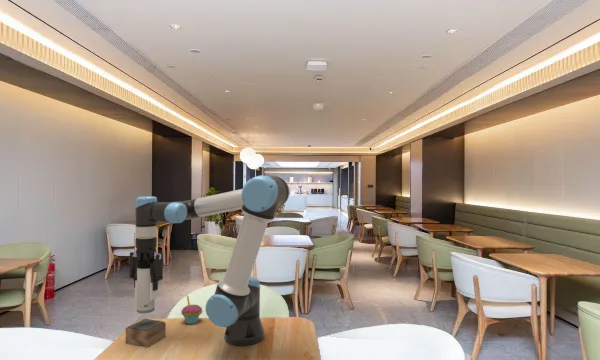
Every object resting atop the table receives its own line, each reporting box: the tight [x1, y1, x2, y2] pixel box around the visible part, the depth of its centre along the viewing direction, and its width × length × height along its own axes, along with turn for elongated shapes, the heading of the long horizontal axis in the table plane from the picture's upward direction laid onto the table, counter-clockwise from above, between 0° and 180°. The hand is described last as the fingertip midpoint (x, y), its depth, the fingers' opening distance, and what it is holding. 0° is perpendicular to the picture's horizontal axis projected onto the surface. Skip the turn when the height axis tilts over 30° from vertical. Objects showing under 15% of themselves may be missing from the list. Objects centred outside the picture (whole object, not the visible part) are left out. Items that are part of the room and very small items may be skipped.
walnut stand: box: [125, 318, 167, 348], centre depth 147 cm, size 10×10×6 cm
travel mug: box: [136, 257, 156, 314], centre depth 147 cm, size 6×7×20 cm
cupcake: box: [181, 294, 203, 325], centre depth 166 cm, size 9×8×12 cm
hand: (145, 297), depth 147 cm, fingers closed on travel mug, 6 cm apart
